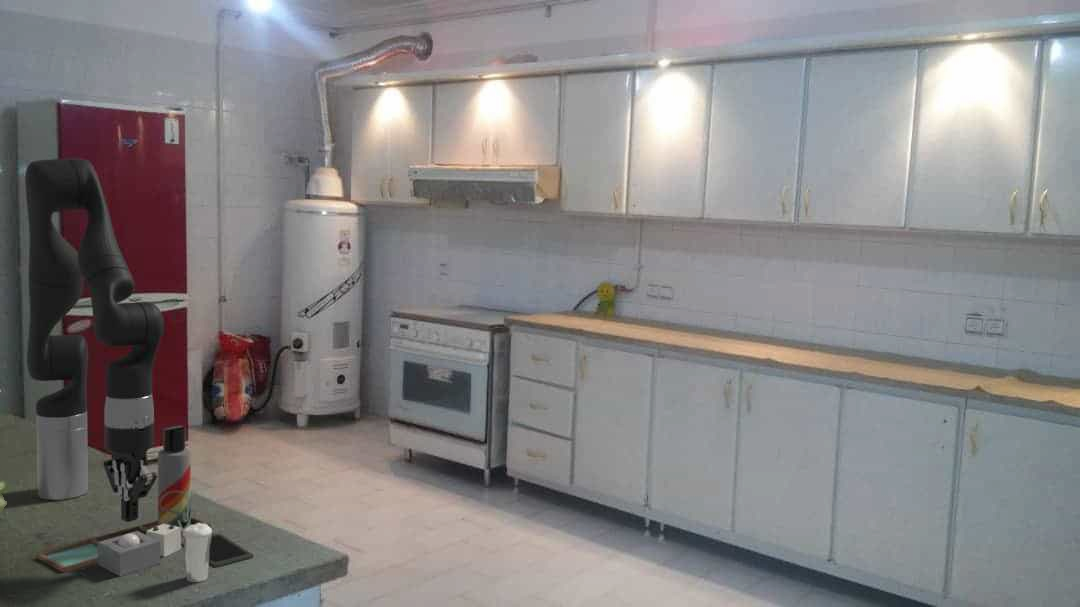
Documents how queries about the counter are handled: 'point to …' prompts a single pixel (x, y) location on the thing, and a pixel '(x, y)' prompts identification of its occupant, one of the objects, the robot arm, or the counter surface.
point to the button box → (128, 554)
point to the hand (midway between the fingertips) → (129, 519)
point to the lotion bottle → (174, 479)
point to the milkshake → (197, 551)
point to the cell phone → (225, 551)
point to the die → (166, 538)
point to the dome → (128, 540)
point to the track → (89, 549)
